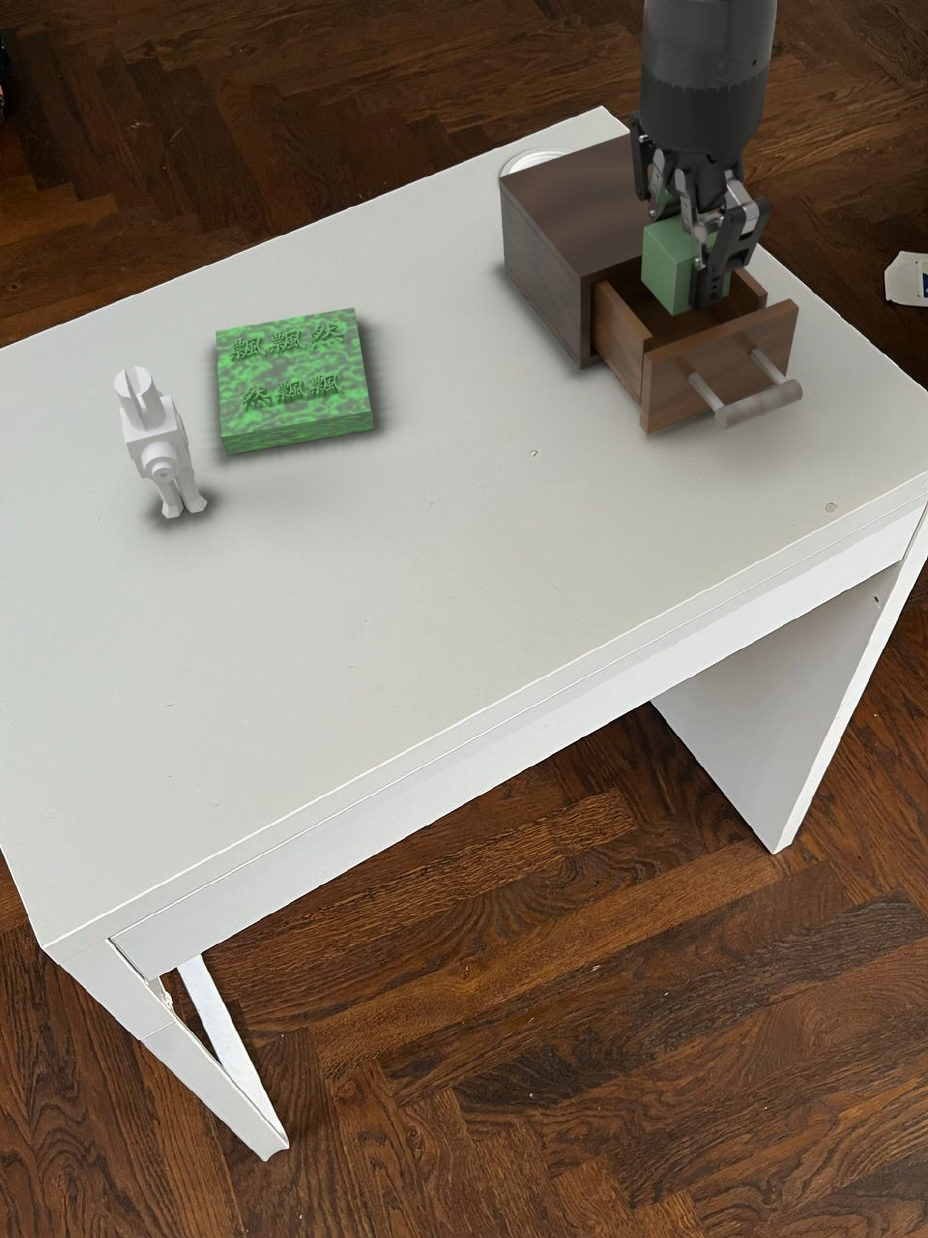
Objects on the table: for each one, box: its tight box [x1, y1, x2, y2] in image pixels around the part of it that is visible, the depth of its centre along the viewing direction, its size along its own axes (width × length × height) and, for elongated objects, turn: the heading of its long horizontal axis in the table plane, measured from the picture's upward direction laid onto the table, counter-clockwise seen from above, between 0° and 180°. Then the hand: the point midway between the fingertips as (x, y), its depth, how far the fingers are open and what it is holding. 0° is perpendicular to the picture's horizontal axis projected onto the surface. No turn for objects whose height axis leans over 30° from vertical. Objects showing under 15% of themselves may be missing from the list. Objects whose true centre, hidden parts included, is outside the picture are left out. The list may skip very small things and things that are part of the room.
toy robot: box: [113, 365, 208, 520], centre depth 80 cm, size 4×8×12 cm, turn 17°
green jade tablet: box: [215, 306, 375, 456], centre depth 89 cm, size 11×12×2 cm
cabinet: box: [498, 132, 720, 370], centre depth 90 cm, size 14×13×9 cm
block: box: [641, 213, 731, 316], centre depth 80 cm, size 4×4×4 cm
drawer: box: [590, 265, 804, 436], centre depth 83 cm, size 18×12×7 cm, turn 24°
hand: (684, 283), depth 81 cm, fingers closed on block, 4 cm apart
